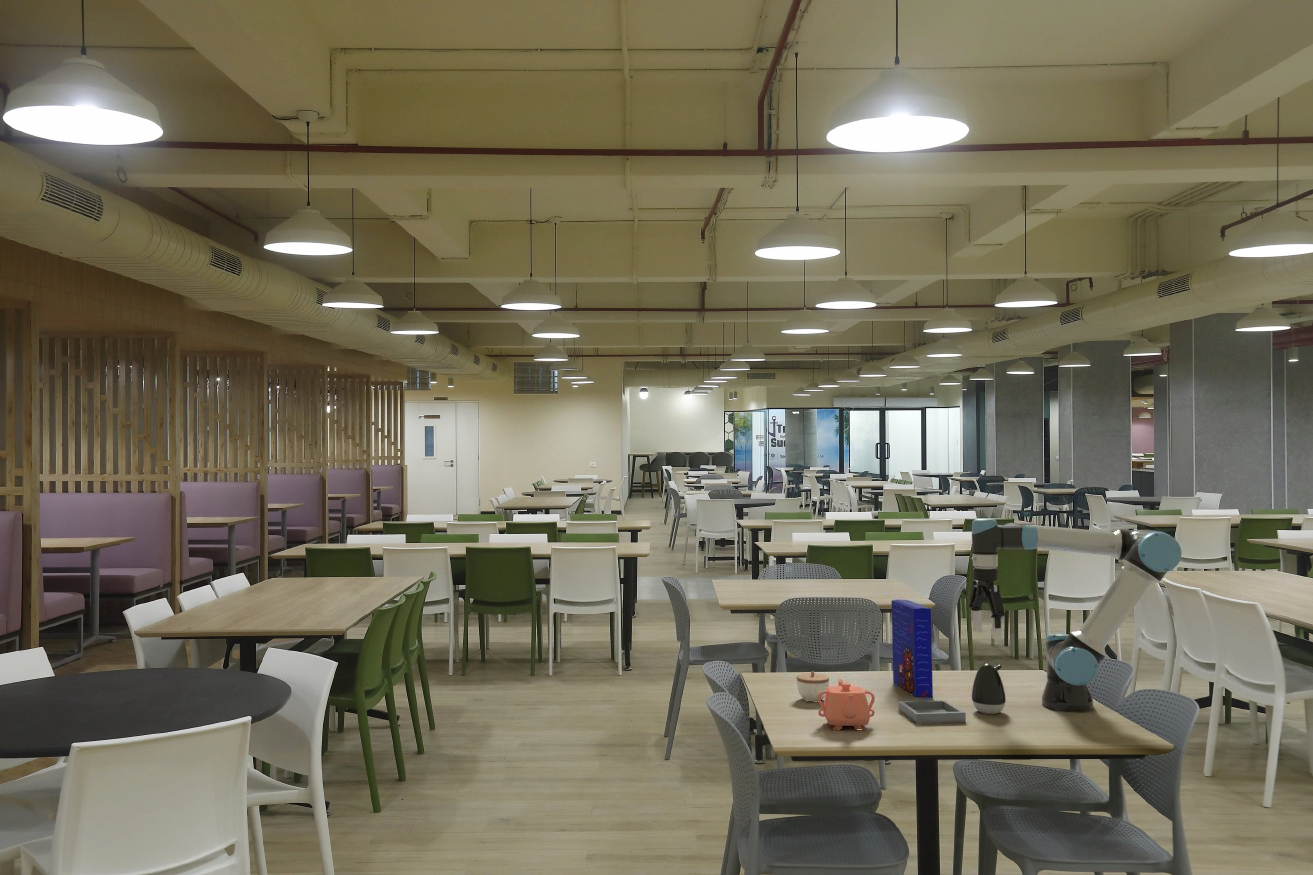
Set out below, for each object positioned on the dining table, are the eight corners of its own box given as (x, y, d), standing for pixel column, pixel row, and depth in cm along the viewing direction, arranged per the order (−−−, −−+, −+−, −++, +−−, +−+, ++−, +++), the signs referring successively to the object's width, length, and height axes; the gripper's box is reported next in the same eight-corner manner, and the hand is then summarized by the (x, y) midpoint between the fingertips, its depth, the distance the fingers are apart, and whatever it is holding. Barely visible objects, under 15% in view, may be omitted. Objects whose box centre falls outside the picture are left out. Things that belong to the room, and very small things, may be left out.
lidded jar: (829, 704, 296) (829, 675, 296) (796, 703, 298) (796, 674, 298) (828, 696, 306) (828, 668, 307) (797, 695, 308) (796, 667, 308)
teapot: (852, 736, 259) (851, 692, 260) (808, 724, 272) (807, 682, 272) (884, 727, 269) (883, 684, 269) (840, 716, 281) (839, 675, 282)
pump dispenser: (1014, 714, 281) (1012, 665, 282) (987, 717, 277) (986, 668, 278) (990, 706, 291) (989, 659, 291) (964, 709, 287) (963, 661, 288)
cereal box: (932, 696, 304) (930, 607, 306) (915, 697, 304) (913, 608, 305) (909, 682, 326) (907, 599, 327) (893, 682, 326) (891, 599, 327)
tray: (945, 709, 288) (945, 699, 288) (965, 722, 273) (965, 712, 273) (898, 710, 287) (898, 701, 287) (916, 724, 271) (916, 713, 271)
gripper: (957, 563, 298) (959, 628, 297) (991, 571, 273) (993, 642, 272) (979, 563, 299) (981, 627, 298) (1015, 571, 274) (1017, 641, 273)
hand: (987, 634), depth 285 cm, fingers open, 13 cm apart
